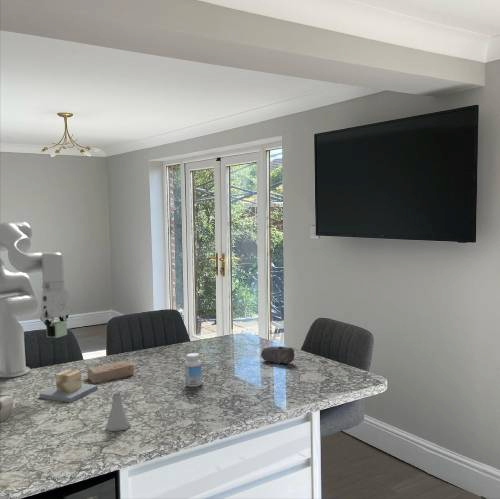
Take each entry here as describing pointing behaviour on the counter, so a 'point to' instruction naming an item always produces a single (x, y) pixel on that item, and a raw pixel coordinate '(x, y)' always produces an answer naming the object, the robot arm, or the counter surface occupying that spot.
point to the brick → (110, 371)
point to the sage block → (60, 328)
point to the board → (67, 396)
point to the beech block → (68, 381)
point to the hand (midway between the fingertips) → (57, 334)
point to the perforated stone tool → (278, 355)
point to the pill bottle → (193, 370)
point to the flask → (117, 415)
